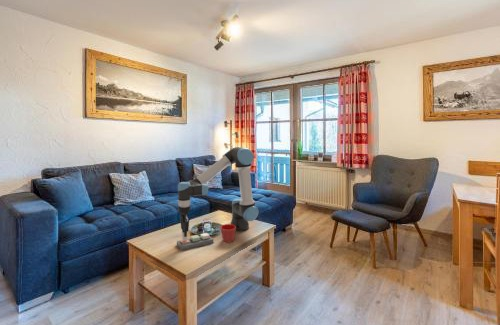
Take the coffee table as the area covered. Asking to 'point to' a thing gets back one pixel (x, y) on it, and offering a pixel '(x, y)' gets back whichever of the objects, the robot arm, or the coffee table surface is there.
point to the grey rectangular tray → (194, 243)
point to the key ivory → (205, 236)
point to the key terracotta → (184, 242)
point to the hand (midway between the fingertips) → (184, 240)
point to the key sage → (195, 238)
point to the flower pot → (228, 232)
